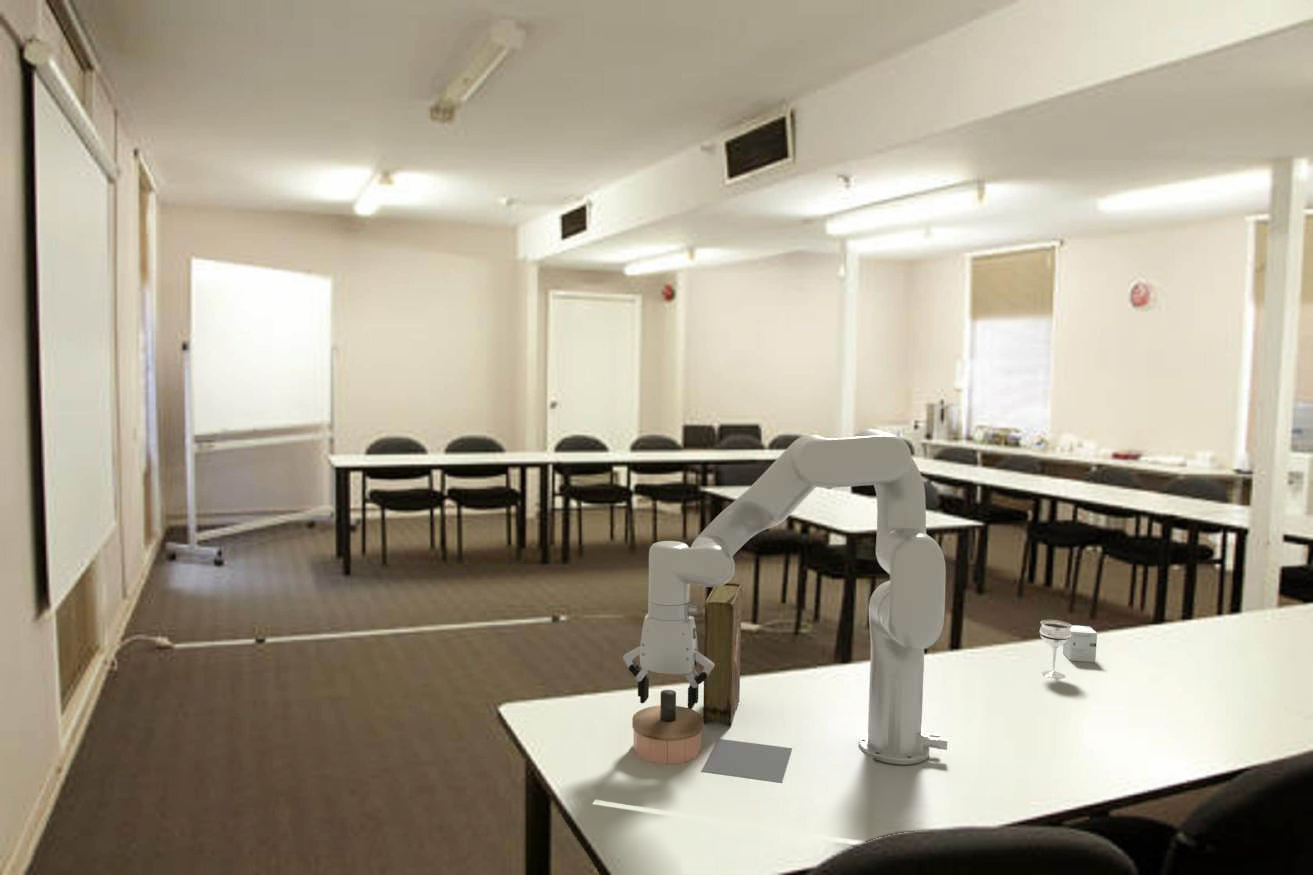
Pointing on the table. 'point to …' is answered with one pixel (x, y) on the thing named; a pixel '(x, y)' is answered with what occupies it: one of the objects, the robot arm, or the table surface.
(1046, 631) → the wineglass
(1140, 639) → the table surface
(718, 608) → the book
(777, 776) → the mat
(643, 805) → the table surface
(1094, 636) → the skincare box
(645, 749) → the bowl
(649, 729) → the lid
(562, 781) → the table surface
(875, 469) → the robot arm
